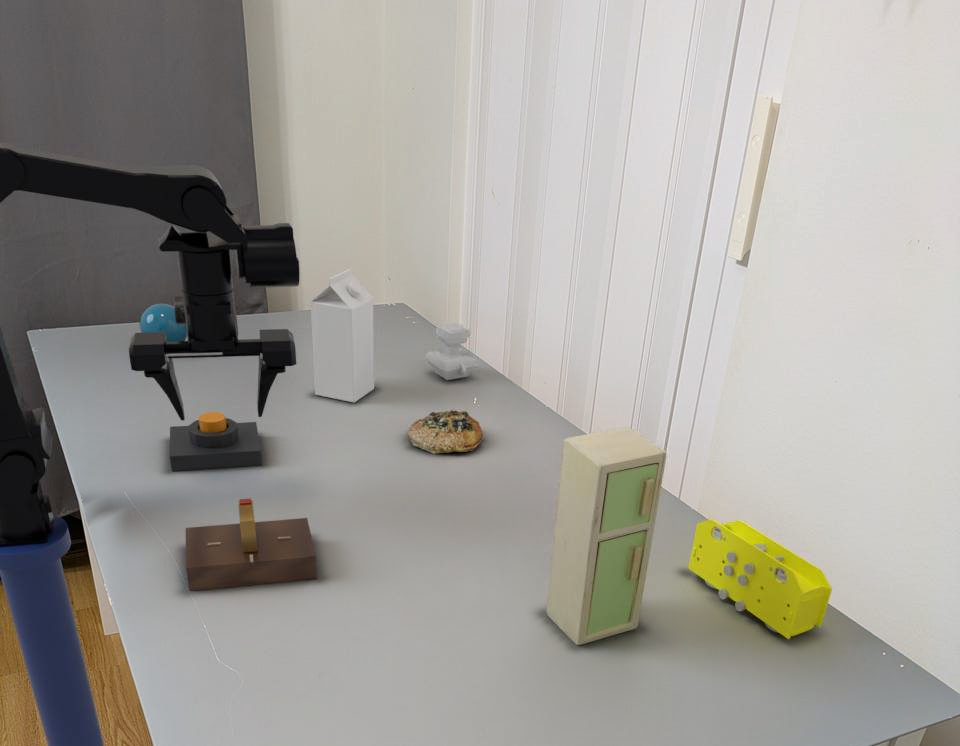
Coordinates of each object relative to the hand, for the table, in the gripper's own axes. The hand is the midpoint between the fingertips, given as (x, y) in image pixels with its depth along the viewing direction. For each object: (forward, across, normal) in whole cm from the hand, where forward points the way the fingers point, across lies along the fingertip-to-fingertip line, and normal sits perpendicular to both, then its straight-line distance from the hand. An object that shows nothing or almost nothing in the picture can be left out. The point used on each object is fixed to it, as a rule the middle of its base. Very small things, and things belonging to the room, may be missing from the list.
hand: (221, 417), depth 117 cm
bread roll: (+11, -31, -14) cm, 36 cm away
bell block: (+11, +2, -14) cm, 18 cm away
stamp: (+11, -38, -40) cm, 56 cm away
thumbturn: (+8, -2, +17) cm, 19 cm away
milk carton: (+11, -19, -34) cm, 41 cm away
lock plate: (+11, -2, +17) cm, 20 cm away
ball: (+11, +10, -58) cm, 59 cm away
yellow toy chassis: (+11, -57, +34) cm, 67 cm away
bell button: (+7, +2, -14) cm, 16 cm away
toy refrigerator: (+11, -38, +35) cm, 53 cm away
